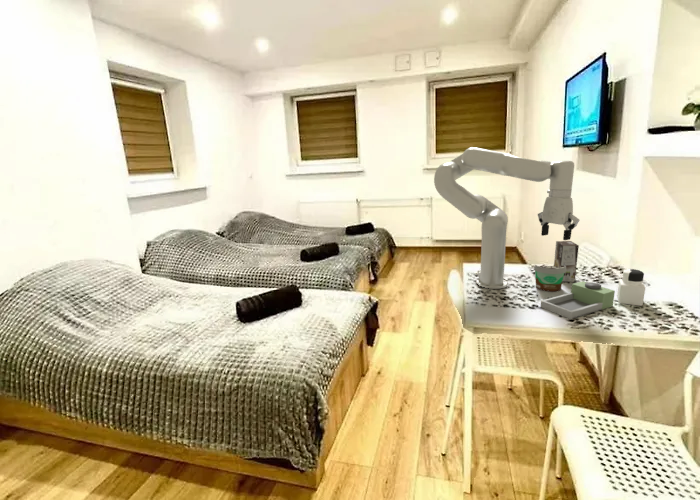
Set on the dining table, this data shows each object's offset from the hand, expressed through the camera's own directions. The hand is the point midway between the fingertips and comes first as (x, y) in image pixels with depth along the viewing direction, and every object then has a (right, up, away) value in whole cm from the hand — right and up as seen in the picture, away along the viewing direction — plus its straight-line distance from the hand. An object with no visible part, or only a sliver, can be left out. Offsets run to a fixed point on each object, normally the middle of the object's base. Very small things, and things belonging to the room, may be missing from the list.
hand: (555, 237), depth 148 cm
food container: (+1, -22, +6) cm, 22 cm away
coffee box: (+14, -18, +18) cm, 29 cm away
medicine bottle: (+23, -24, -9) cm, 34 cm away
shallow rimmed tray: (+2, -26, -11) cm, 28 cm away
